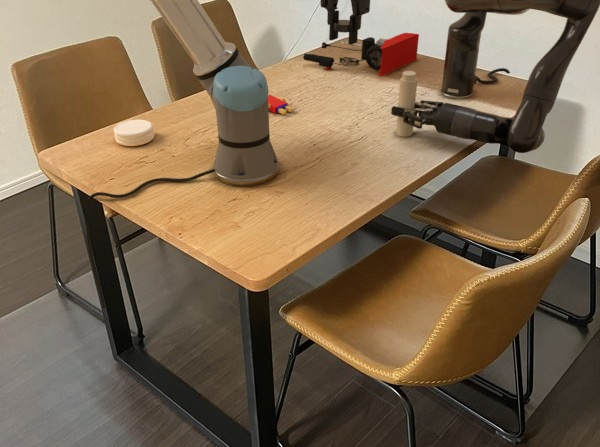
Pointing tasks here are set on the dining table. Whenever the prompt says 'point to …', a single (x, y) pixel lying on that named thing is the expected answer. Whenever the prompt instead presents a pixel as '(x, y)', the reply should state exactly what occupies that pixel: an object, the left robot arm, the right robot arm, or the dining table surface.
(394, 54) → the electric hoist
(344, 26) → the lid
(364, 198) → the dining table surface
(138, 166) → the dining table surface
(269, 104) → the toy figure
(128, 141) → the white short cylinder
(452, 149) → the dining table surface
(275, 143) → the dining table surface
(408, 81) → the beige long cylinder
